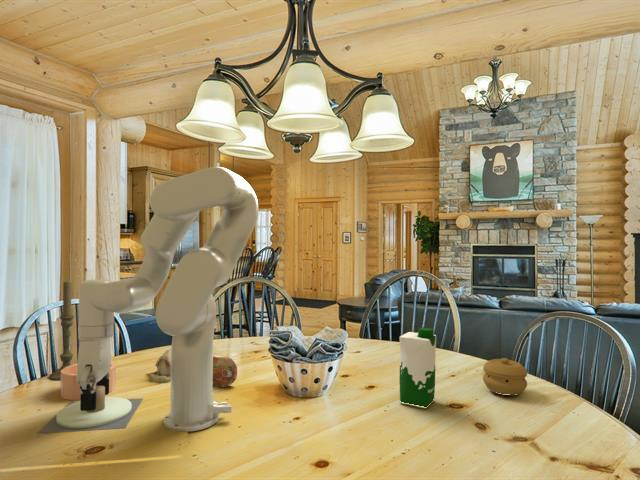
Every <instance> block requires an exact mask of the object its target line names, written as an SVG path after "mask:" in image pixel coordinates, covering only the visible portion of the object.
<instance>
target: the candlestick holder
mask: <svg viewBox="0 0 640 480" xmlns="http://www.w3.org/2000/svg"><path fill="white" fill-rule="evenodd" d="M65 280H66V281H63V284H62V285H63V286H62V287H63V291H62V294H63V296H62V297H63V298H62V299H63V301H62V304H63V305H62V315H61V316H59V319H60V320H61V322H60V326H61V327H63V332H62V337H63V351H62V353H61V354H60V355H59V358H60V361H61V362H62V365H61V366H60V368H57V369H56V370H54V371H53V372H52V373H50V374H49V376H48V378H49V380H51V381H61V370H63V369H64V368H65V367H67V366H71V361H72V359H73V356H74V354H73V353H72V352H71V351H70V345H71V344H70V342H71V341H70V340H71V339H70V337H71V336H72V335H71V329H70V328H71V326H73V324H74V321H73V319H74V318H75V316H74V314H73V315H72V281H71V280H69V281H68V279H65Z"/></svg>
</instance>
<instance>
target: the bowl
mask: <svg viewBox="0 0 640 480" xmlns="http://www.w3.org/2000/svg"><path fill="white" fill-rule="evenodd" d="M77 364H78V362H77V363H74V364H72V365H71V364H70V365H71V366H67V367H65V368H64V369H63V370H61V380H60V396H61V398H62V399H64V400H69V401H80V399H81V394H80V390H81V389H80V386H81V384H80V383H78V382H77ZM116 377H117V365H116V363H114V362H113V361H111V365H110V370H109V394H112V393H113V392H114V391H115V389H116V388H117V386H116V383H117V378H116ZM91 379H94V378H91ZM89 384H90V385H91V387H92V383H89Z"/></svg>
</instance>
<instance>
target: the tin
mask: <svg viewBox="0 0 640 480" xmlns="http://www.w3.org/2000/svg"><path fill="white" fill-rule="evenodd" d="M237 377H238V367H237V364H236V363H235V361H234V360H233V358H231V357H228V356H222V355H216V354H213V386H215V387H220V388H225V387H228V386H229V385H230V386H231V385H233V384H234V382H235V381H236V380H237Z"/></svg>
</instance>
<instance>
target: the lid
mask: <svg viewBox="0 0 640 480" xmlns="http://www.w3.org/2000/svg"><path fill="white" fill-rule="evenodd" d="M95 392H96V409H95V410H90V411H81V410H80V400H78V401H75V402H76V403H73V404H71V405H68V406H66V405H65V406H66V407H65V406H64V407H63V408H61V409H60V410H58V412H57V413H56V415H57V416H56V422H57V424H58V425H60V426H62V427H65V428H71V429H85V428H94V427H99V426H104V425H108V424H111V423H114V422H116V421H119V420H121V419H123V418H125V417H126V416H127V415H129V414H130V412H131V410H132V404H131V402H130V401H129V400H127V399H128V398H123V397H117V396H116V397H115V396H106V395H105V386H96V388H95Z"/></svg>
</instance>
